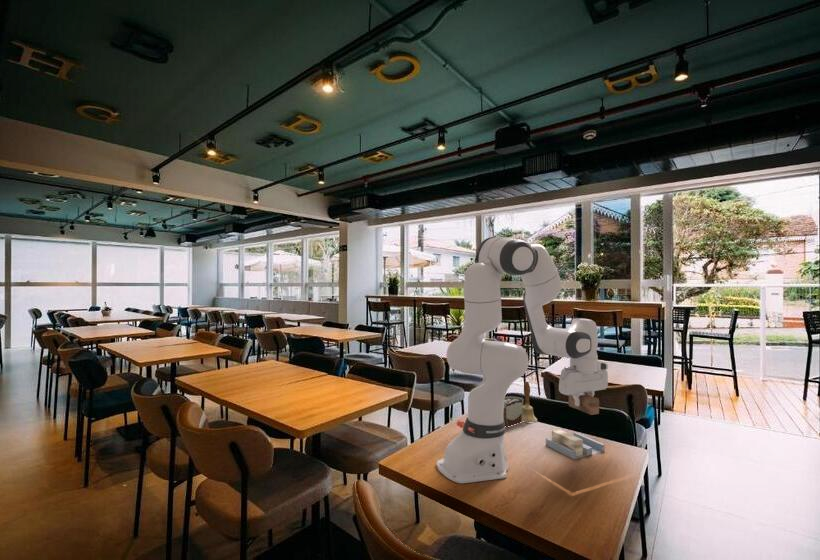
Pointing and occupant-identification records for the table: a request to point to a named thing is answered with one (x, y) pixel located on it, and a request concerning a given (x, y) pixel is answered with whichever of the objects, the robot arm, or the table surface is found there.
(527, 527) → the table surface
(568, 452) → the slot rack
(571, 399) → the walnut bar
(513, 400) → the food container
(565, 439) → the maple bar
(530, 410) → the hand bell
